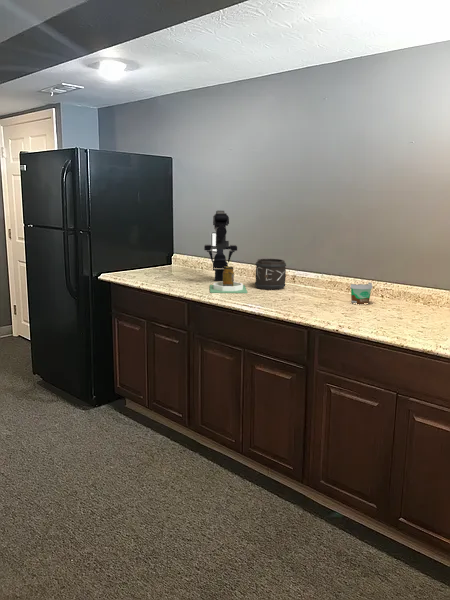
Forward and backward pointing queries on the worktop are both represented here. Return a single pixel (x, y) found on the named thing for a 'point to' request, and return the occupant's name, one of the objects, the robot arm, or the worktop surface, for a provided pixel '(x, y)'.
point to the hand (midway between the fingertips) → (220, 262)
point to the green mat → (227, 291)
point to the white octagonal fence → (228, 287)
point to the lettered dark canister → (270, 274)
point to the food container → (360, 293)
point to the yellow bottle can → (228, 276)
